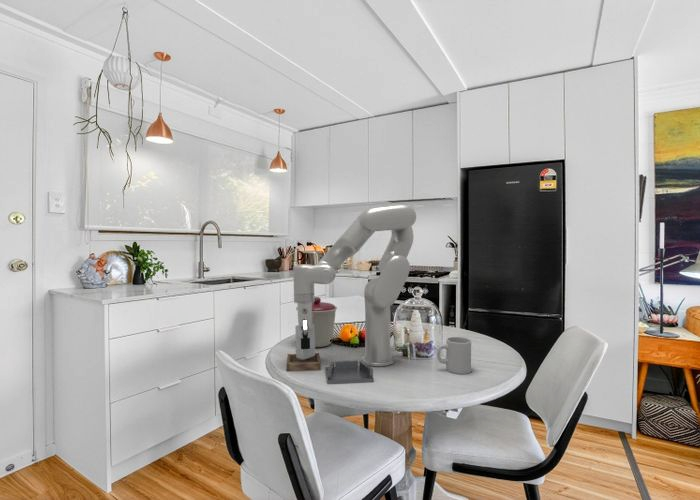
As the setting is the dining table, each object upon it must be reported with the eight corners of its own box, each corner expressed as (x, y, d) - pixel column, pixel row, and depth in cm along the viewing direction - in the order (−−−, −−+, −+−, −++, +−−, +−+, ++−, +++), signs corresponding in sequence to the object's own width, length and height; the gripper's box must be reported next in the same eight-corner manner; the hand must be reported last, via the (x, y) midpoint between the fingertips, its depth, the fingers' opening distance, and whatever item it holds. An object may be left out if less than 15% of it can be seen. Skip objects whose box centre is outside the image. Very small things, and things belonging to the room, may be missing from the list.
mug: (465, 366, 141) (466, 336, 140) (474, 374, 132) (475, 342, 132) (433, 366, 140) (434, 337, 140) (440, 375, 131) (441, 343, 131)
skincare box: (307, 354, 145) (306, 322, 144) (315, 356, 142) (315, 323, 142) (295, 358, 140) (294, 325, 140) (303, 360, 137) (302, 327, 137)
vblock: (366, 368, 138) (367, 358, 137) (373, 382, 125) (373, 371, 125) (324, 370, 136) (324, 360, 135) (327, 384, 123) (327, 373, 123)
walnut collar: (319, 359, 148) (319, 353, 148) (320, 370, 136) (320, 363, 136) (287, 360, 146) (287, 354, 146) (286, 371, 134) (286, 364, 134)
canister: (296, 339, 177) (296, 294, 176) (335, 338, 178) (335, 293, 178) (295, 351, 159) (295, 300, 158) (338, 350, 161) (338, 300, 160)
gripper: (315, 301, 132) (316, 352, 133) (313, 294, 149) (314, 339, 150) (293, 302, 131) (294, 353, 132) (294, 294, 148) (295, 340, 149)
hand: (305, 345), depth 141 cm, fingers closed on skincare box, 7 cm apart
